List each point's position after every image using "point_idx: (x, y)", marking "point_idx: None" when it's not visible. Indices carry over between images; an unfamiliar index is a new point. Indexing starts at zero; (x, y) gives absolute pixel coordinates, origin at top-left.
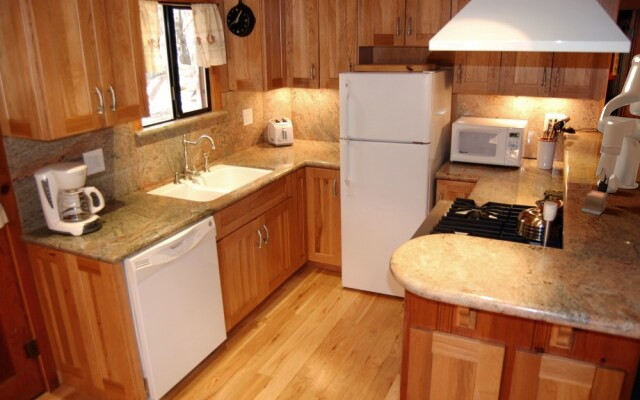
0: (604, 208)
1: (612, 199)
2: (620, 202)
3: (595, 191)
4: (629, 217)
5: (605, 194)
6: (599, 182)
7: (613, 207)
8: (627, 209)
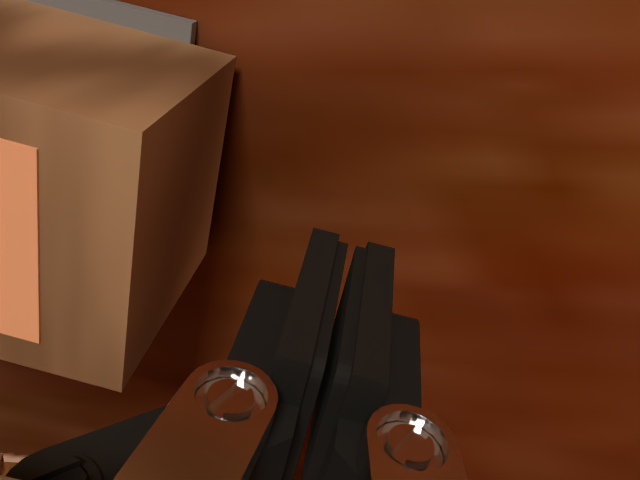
0: None
1: (624, 350)
2: (521, 416)
3: (82, 193)
4: (46, 430)
5: (19, 351)
6: (198, 368)
7: None
8: None
